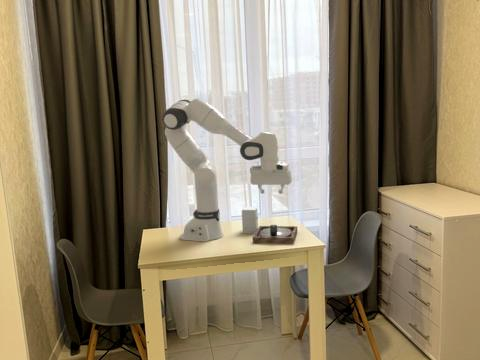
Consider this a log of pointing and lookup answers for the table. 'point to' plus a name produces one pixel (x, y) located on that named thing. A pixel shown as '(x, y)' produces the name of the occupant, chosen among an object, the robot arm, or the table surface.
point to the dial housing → (275, 239)
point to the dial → (275, 232)
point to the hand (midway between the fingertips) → (271, 193)
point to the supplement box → (249, 219)
